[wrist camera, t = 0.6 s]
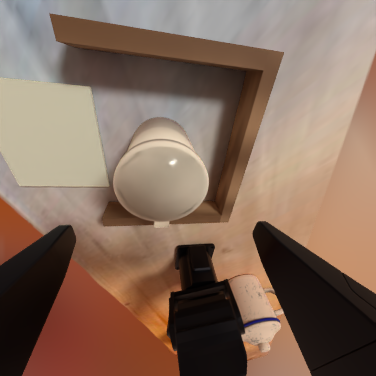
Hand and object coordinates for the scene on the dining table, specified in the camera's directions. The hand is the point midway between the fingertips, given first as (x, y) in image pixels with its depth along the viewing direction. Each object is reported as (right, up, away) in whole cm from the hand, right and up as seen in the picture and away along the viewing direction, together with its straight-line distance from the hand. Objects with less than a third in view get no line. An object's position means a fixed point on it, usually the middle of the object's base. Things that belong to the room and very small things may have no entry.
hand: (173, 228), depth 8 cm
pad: (-12, +7, +8) cm, 16 cm away
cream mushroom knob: (-2, +5, +10) cm, 12 cm away
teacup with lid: (+14, -20, +31) cm, 40 cm away
